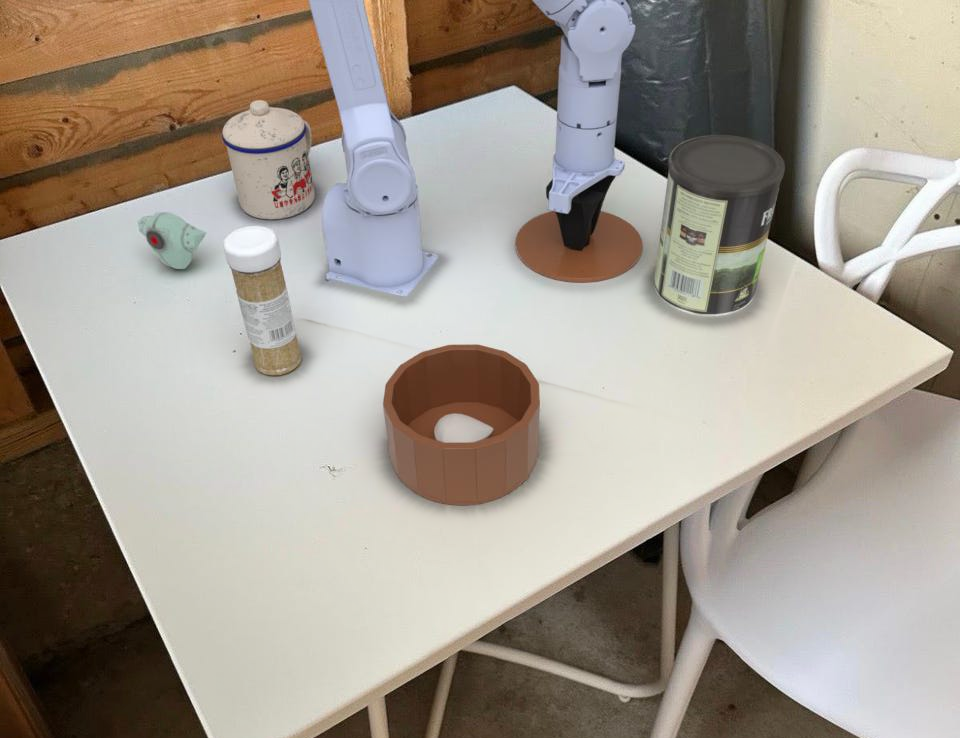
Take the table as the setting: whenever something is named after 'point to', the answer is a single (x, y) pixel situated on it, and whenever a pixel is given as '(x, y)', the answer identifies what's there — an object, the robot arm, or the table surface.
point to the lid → (599, 260)
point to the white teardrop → (461, 429)
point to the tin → (469, 391)
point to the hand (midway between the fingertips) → (578, 239)
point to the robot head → (171, 238)
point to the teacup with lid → (270, 161)
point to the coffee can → (716, 223)
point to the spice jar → (263, 298)
